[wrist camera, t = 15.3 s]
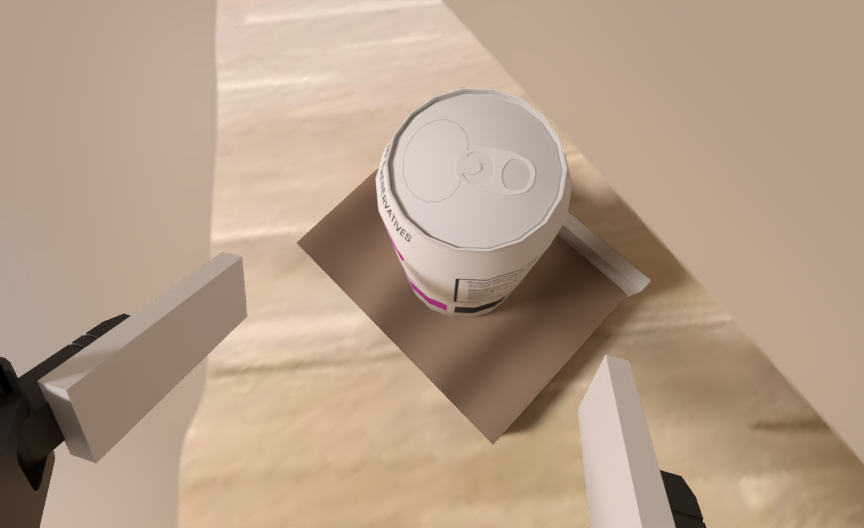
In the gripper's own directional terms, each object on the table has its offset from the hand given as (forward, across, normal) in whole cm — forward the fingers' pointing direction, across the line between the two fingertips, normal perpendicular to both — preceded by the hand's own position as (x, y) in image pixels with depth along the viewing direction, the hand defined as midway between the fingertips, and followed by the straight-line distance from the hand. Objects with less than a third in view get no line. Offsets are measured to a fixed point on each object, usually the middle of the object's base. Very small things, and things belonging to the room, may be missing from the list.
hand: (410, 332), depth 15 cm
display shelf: (+17, 0, -8) cm, 19 cm away
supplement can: (+15, 0, -6) cm, 16 cm away
